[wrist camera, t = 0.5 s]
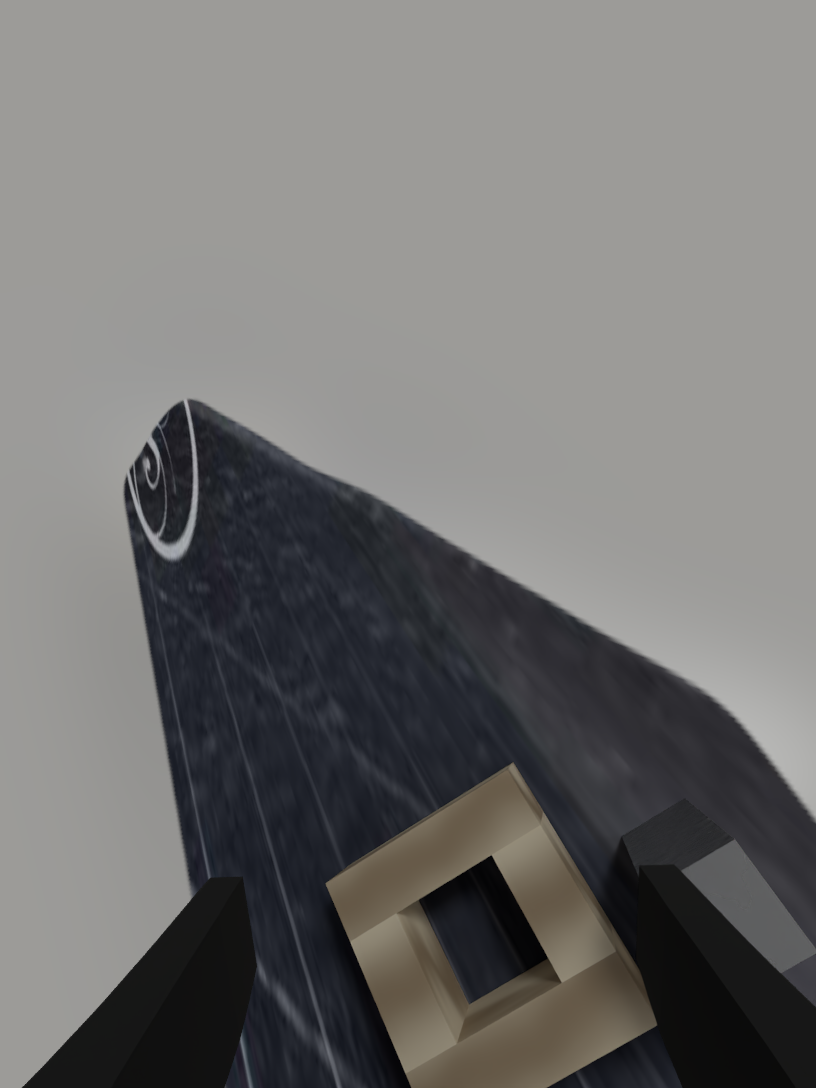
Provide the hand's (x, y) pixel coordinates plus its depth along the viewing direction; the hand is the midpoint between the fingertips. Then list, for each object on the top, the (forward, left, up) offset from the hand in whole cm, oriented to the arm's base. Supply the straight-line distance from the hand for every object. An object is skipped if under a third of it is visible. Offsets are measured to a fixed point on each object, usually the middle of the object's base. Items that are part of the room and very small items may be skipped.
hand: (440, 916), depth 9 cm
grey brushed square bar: (-7, -4, -23) cm, 25 cm away
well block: (-5, +7, -23) cm, 25 cm away
